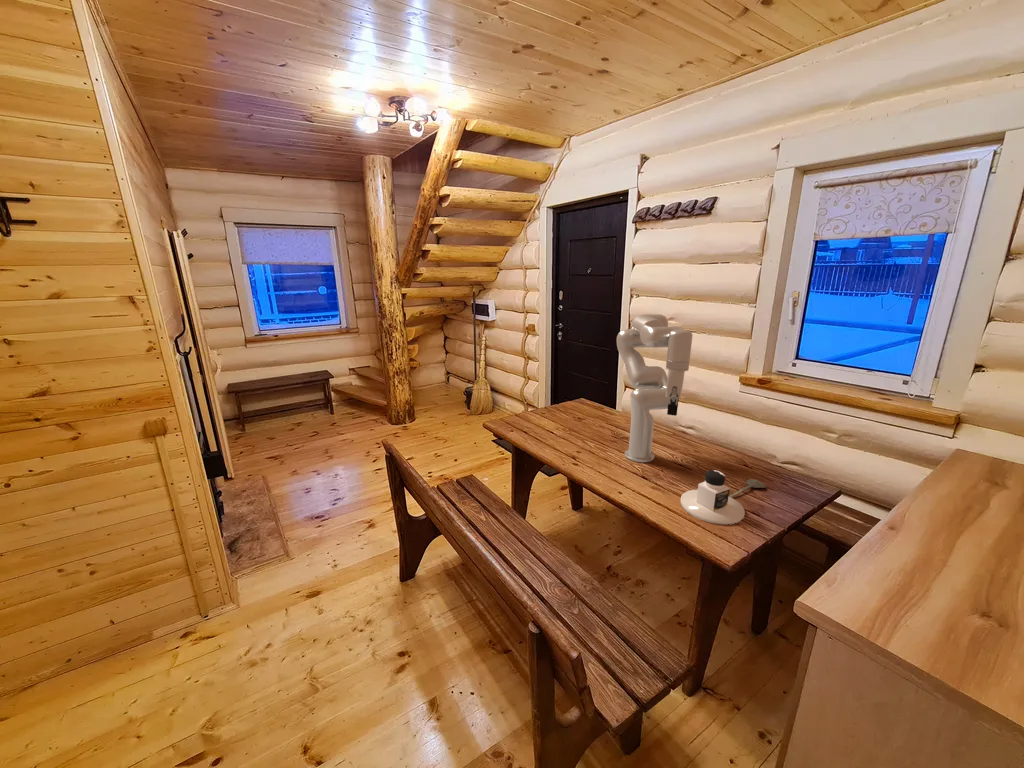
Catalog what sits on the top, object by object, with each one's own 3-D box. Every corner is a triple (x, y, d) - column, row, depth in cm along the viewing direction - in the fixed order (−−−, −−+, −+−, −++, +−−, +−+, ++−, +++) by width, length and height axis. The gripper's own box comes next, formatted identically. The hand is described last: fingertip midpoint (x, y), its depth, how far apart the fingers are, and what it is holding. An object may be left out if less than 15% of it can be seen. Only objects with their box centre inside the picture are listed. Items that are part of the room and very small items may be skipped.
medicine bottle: (713, 512, 136) (718, 479, 132) (695, 501, 142) (699, 470, 138) (727, 506, 139) (732, 474, 135) (709, 496, 145) (713, 466, 142)
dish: (681, 488, 153) (681, 485, 153) (741, 499, 145) (741, 496, 145) (679, 516, 135) (679, 513, 135) (747, 530, 128) (748, 527, 127)
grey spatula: (769, 489, 154) (752, 483, 159) (771, 481, 153) (753, 475, 159) (736, 504, 143) (718, 496, 148) (737, 495, 142) (719, 488, 148)
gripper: (667, 359, 152) (663, 402, 156) (664, 369, 137) (659, 416, 141) (689, 361, 149) (684, 405, 153) (688, 371, 134) (683, 419, 138)
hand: (672, 410), depth 147 cm, fingers open, 9 cm apart
